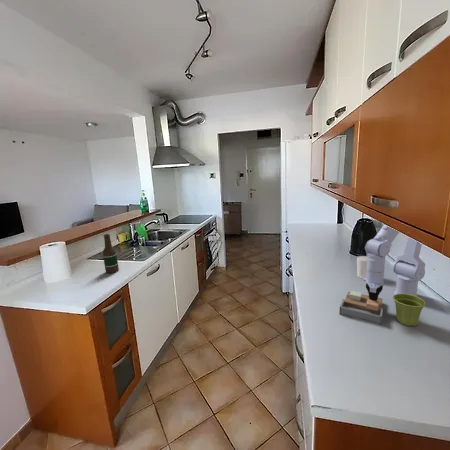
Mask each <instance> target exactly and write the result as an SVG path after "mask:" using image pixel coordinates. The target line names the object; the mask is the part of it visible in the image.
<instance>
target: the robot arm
mask: <svg viewBox="0 0 450 450" xmlns="http://www.w3.org/2000/svg"><path fill="white" fill-rule="evenodd" d="M399 233H400V231H399V232H398V231H396V230H394V229H392V228H390V227H388V226H386V225H385V224H384V225H383V226H381V228H380V230H379V231H378V232H377V234H376V235H375V236H374V237H373V238H371V239H369V240H367V242H366V243H365V246H364V250H365V253H366V256H367V257H368V264H367V278H363V279H362V281H363V282H366V284H365V288H366V291H367V293H368V296H369V299H370V300H374V301H377V299H378V298H379V295H380V294H381V292H382V291H383V289H384V285H385V283H384V282H385V269H386V267H385V265H386V256H387V255H389V253H390V251H391V247H392V245H393V244H392V243H393V242H394V241H395V239H396V237H397V236H398V235H399ZM422 245H423V243H422V244H420V243H419V242H417V241H415V240H413V239H411V238H408V237H407V238H406V244H405V247H404V251H403V254H401V255H399V256H397V257H396V260H394V263H393V265H392V272H393V273H394V274H395V277H396V283H395V284H396V286H395V288H394V292H393V293H394V295H396V294H409V295H413V296H416V297H418V286H419V285H418V284H419V281H422V280H423V279H424V277H425V274H426V263H425V262H424V260H422V259H421V257H420V254H421V250H422ZM394 295H393V296H394Z"/></svg>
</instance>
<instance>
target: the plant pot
mask: <svg viewBox="0 0 450 450" xmlns="http://www.w3.org/2000/svg"><path fill="white" fill-rule="evenodd" d="M392 298H393V301H394V305H395V311H396V312H395V313H396V320H397V321H398V322H399V323H400V324H402V325H405V326H409V327H410V326H417V325H418V324H419V323H418V322H419V320H420V316H421V314H422V310H423V309H424V307H425V306H426V305H427V303H426V301H425V300H424V299H422V298H421V297H419V296H417V297H416V296H413V295H409V294H396V295H393V296H392Z"/></svg>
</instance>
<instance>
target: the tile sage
mask: <svg viewBox="0 0 450 450" xmlns="http://www.w3.org/2000/svg"><path fill="white" fill-rule="evenodd" d="M350 292H351V293H350V299H353V300H357V301H361V297H362V295H363V293H362V292H360V291H354V290H351V291H350Z"/></svg>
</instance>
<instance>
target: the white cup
mask: <svg viewBox="0 0 450 450" xmlns="http://www.w3.org/2000/svg"><path fill="white" fill-rule="evenodd" d="M367 264H368V257H367V255H366V256H364V255H362V256H361V255H360V256H357V257H356V271H357V272H356V273H357V274H356V275H357V277H358V278H359V279H362V280H363V278H367Z"/></svg>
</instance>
